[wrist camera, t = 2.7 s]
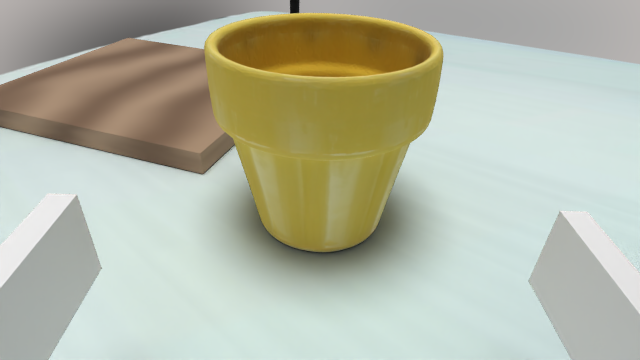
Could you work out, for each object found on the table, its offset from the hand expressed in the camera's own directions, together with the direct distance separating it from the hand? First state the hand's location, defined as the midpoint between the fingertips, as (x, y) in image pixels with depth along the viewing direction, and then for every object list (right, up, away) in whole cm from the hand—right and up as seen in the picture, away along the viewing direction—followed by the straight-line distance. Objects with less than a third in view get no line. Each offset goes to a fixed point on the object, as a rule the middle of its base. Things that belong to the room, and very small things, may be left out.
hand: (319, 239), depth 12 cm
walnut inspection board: (-14, +9, +24) cm, 29 cm away
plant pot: (0, 0, +12) cm, 12 cm away
